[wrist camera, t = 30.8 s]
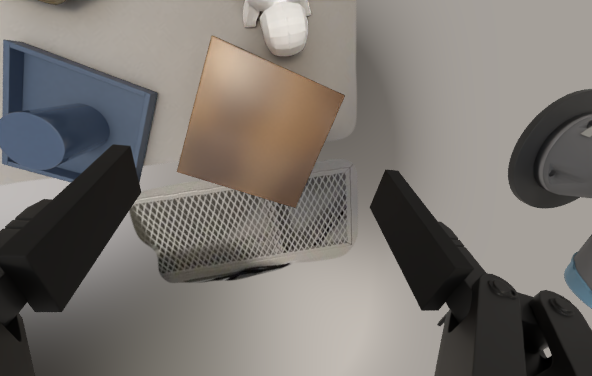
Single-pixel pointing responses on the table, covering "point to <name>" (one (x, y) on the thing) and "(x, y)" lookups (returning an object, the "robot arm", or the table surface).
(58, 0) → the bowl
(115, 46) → the table surface
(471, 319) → the robot arm
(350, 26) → the table surface
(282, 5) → the white turtle figurine
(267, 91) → the brown wooden block
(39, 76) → the blue tray
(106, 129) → the slate blue cylinder
